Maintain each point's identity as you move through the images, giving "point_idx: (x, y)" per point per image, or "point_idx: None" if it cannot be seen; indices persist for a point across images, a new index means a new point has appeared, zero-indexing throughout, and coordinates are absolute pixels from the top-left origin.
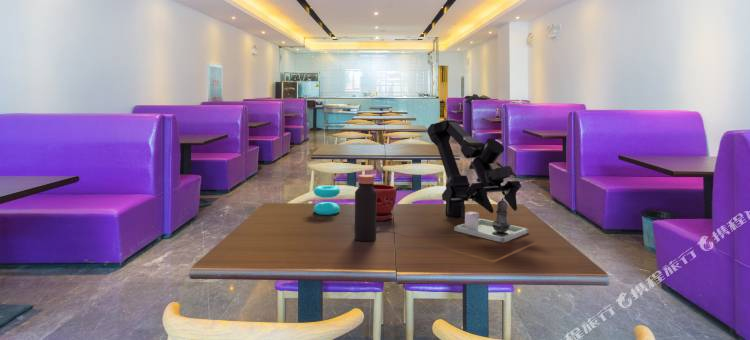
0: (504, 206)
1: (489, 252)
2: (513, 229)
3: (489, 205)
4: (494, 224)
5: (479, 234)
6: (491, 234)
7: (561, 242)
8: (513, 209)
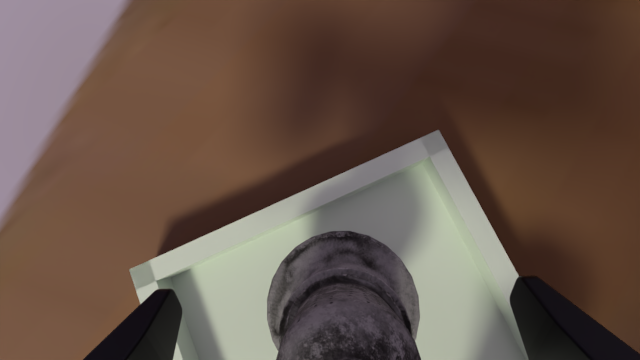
0: (354, 292)
1: (574, 53)
2: (192, 351)
3: (621, 343)
4: (418, 297)
5: None
6: (470, 224)
7: (93, 84)
8: (176, 336)
